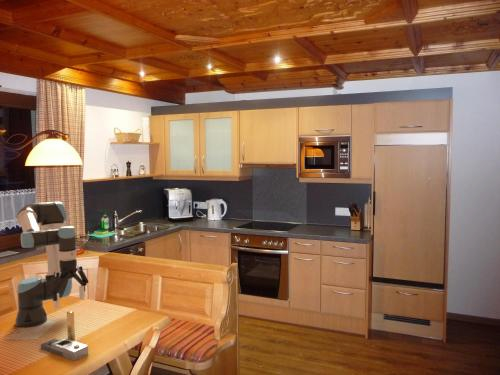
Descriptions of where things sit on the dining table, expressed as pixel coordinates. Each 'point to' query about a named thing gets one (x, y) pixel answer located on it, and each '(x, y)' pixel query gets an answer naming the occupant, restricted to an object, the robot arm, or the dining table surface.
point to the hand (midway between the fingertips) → (69, 302)
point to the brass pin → (70, 325)
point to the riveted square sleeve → (66, 348)
